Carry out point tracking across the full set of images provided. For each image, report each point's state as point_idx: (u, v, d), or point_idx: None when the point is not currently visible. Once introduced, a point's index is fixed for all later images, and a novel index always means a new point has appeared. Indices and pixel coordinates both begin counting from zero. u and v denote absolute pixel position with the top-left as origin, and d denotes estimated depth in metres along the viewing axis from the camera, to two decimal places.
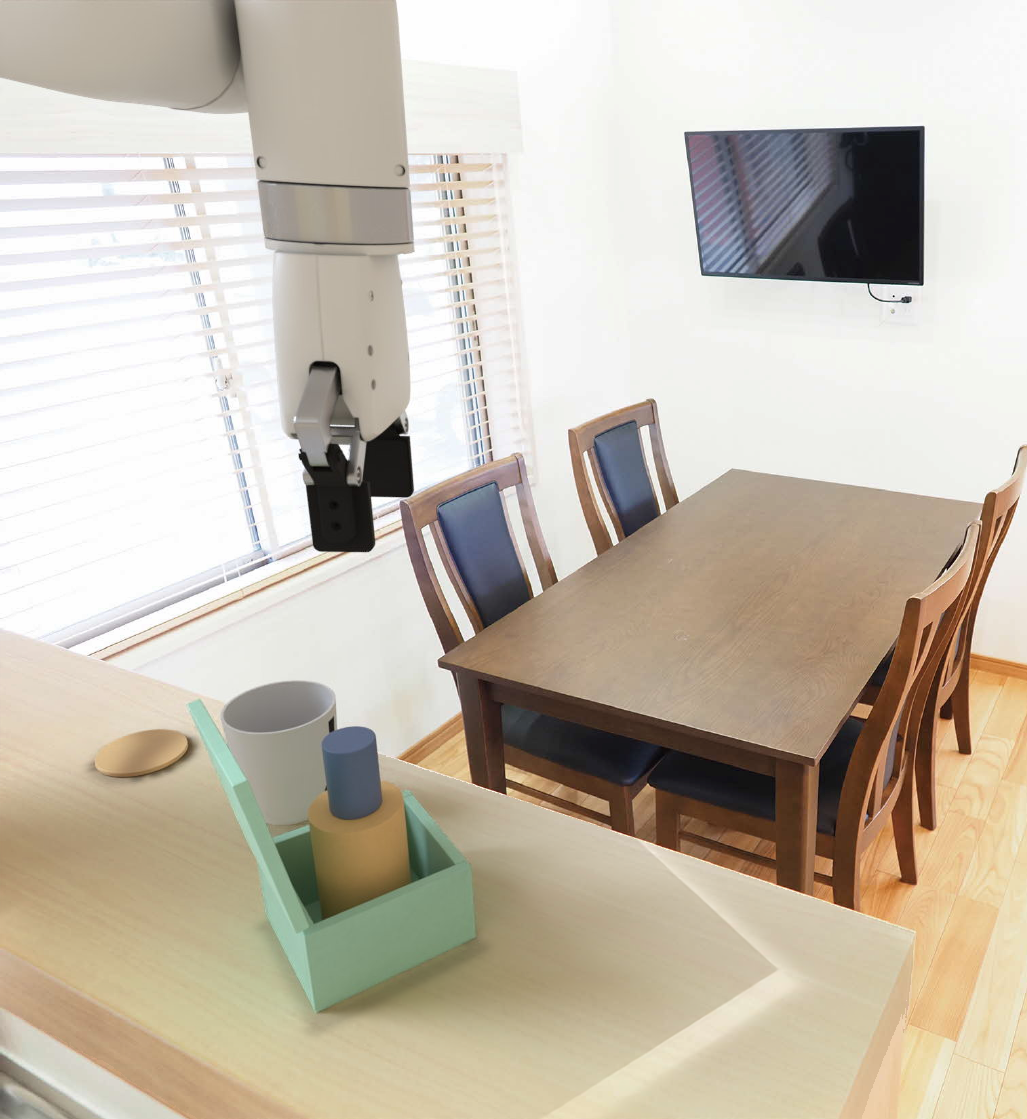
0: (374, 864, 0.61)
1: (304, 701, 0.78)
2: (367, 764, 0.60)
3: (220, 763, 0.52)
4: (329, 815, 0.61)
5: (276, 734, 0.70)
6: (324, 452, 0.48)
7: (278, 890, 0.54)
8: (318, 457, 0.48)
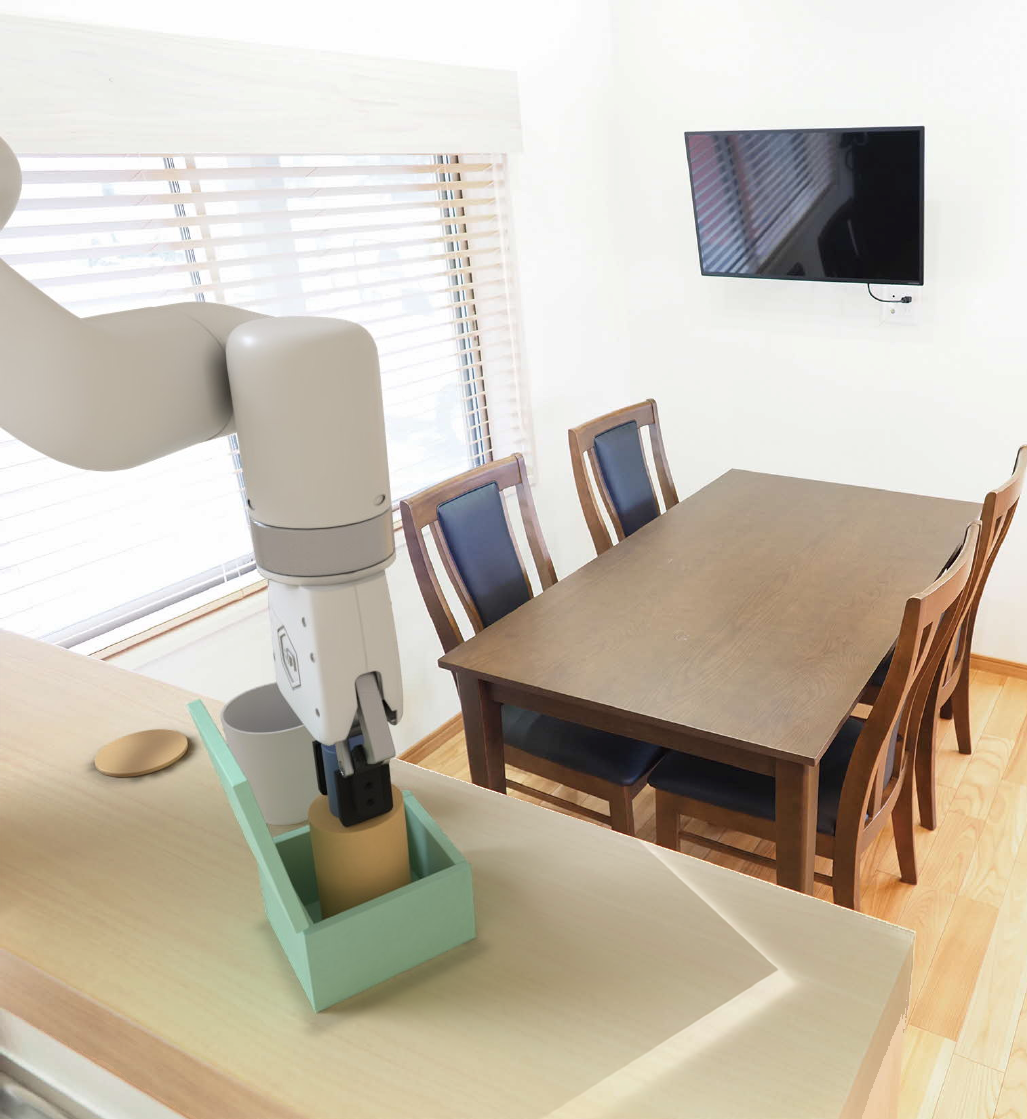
0: (374, 864, 0.61)
1: None
2: None
3: (220, 763, 0.52)
4: (329, 814, 0.61)
5: (276, 734, 0.70)
6: None
7: (278, 890, 0.54)
8: None
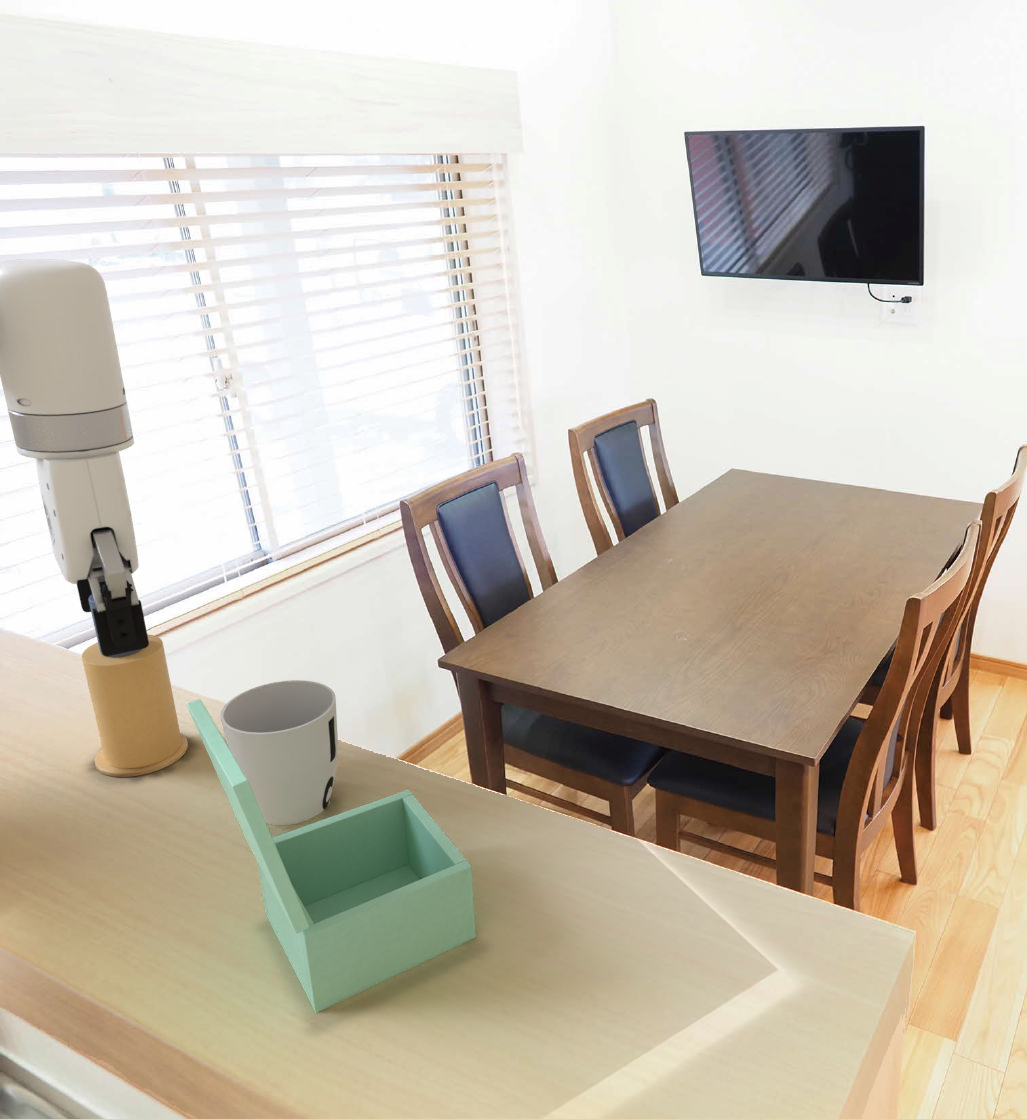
0: (133, 692, 0.79)
1: (304, 701, 0.78)
2: None
3: (220, 763, 0.52)
4: (98, 654, 0.79)
5: (276, 734, 0.70)
6: (125, 588, 0.72)
7: (278, 890, 0.54)
8: (119, 592, 0.72)
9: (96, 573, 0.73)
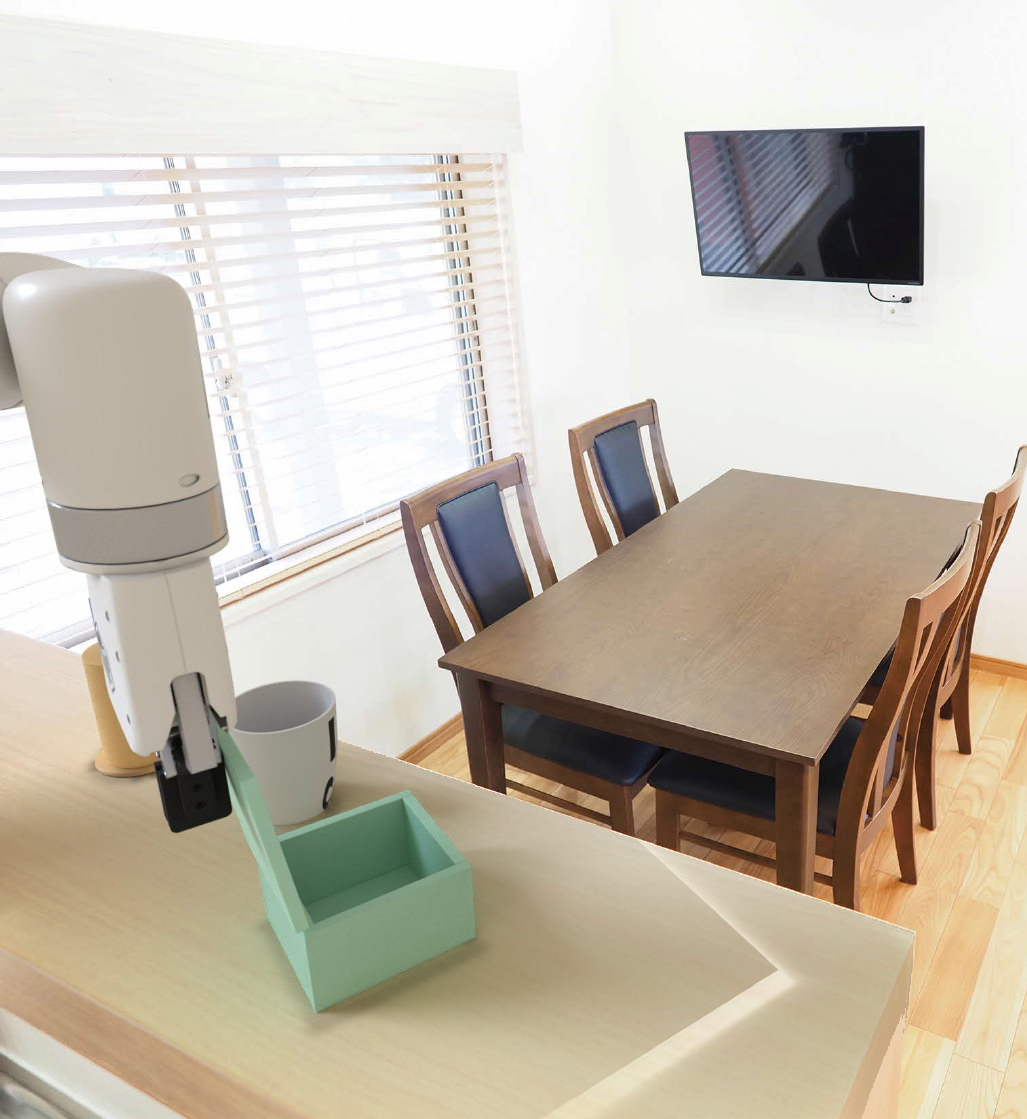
0: None
1: (304, 701, 0.78)
2: None
3: (228, 759, 0.53)
4: (98, 654, 0.79)
5: (276, 734, 0.70)
6: None
7: (280, 889, 0.54)
8: None
9: (171, 738, 0.51)
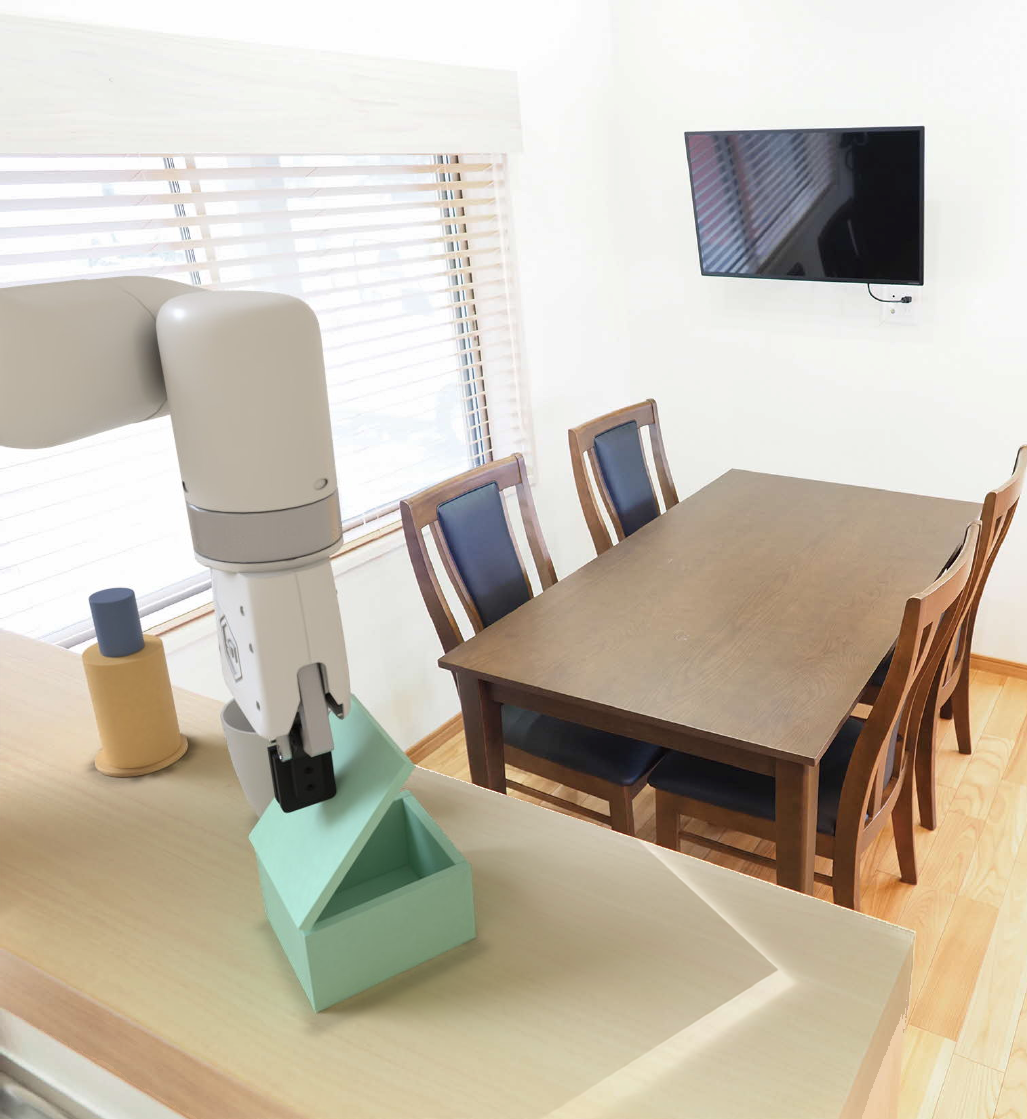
0: (133, 692, 0.79)
1: None
2: (124, 614, 0.78)
3: (389, 743, 0.59)
4: (98, 654, 0.79)
5: None
6: None
7: (332, 876, 0.56)
8: None
9: None
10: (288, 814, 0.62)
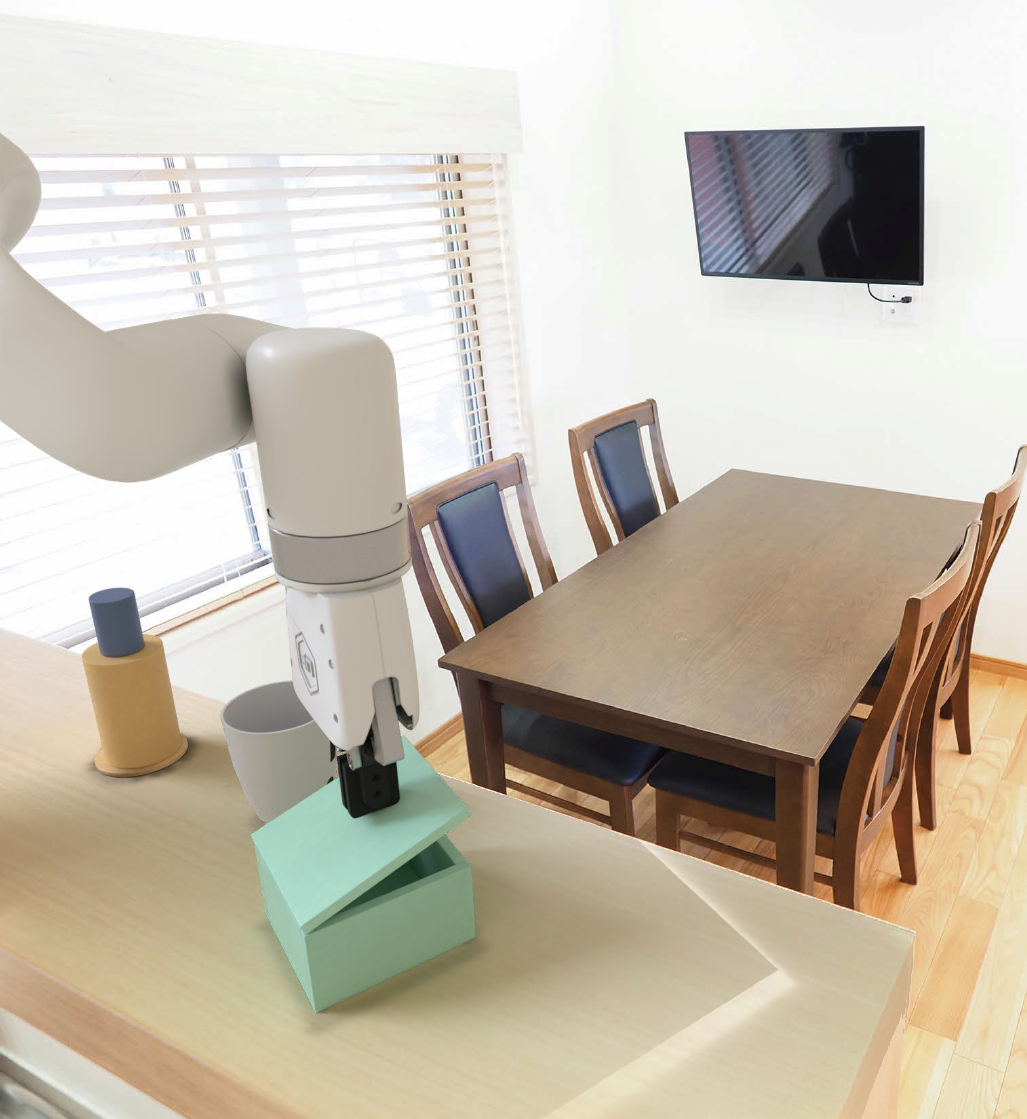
0: (133, 692, 0.79)
1: None
2: (124, 614, 0.78)
3: (449, 787, 0.63)
4: (98, 654, 0.79)
5: (276, 734, 0.70)
6: None
7: (356, 887, 0.58)
8: None
9: None
10: (309, 824, 0.63)
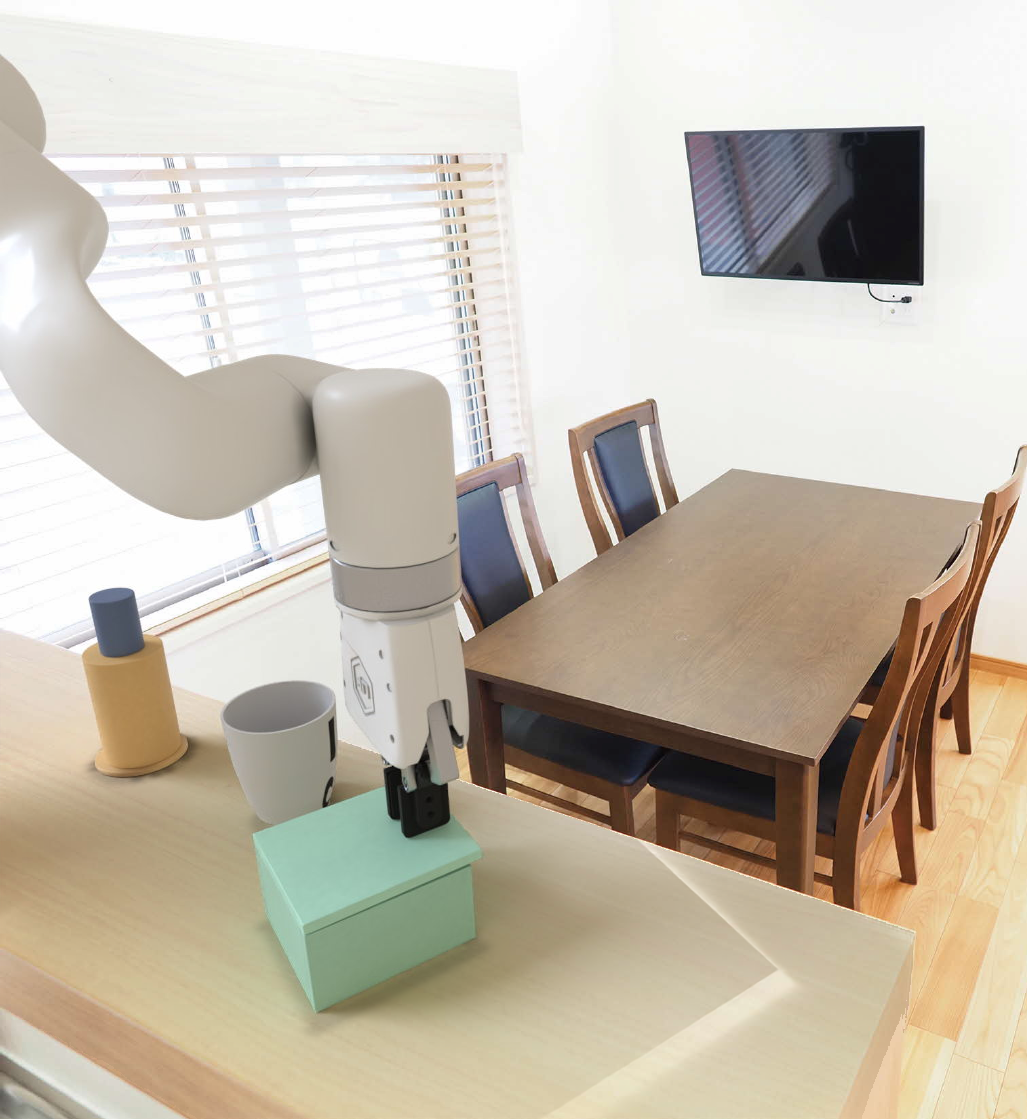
0: (133, 692, 0.79)
1: (304, 701, 0.78)
2: (124, 614, 0.78)
3: None
4: (98, 654, 0.79)
5: (276, 734, 0.70)
6: None
7: (364, 899, 0.58)
8: None
9: None
10: (316, 835, 0.63)
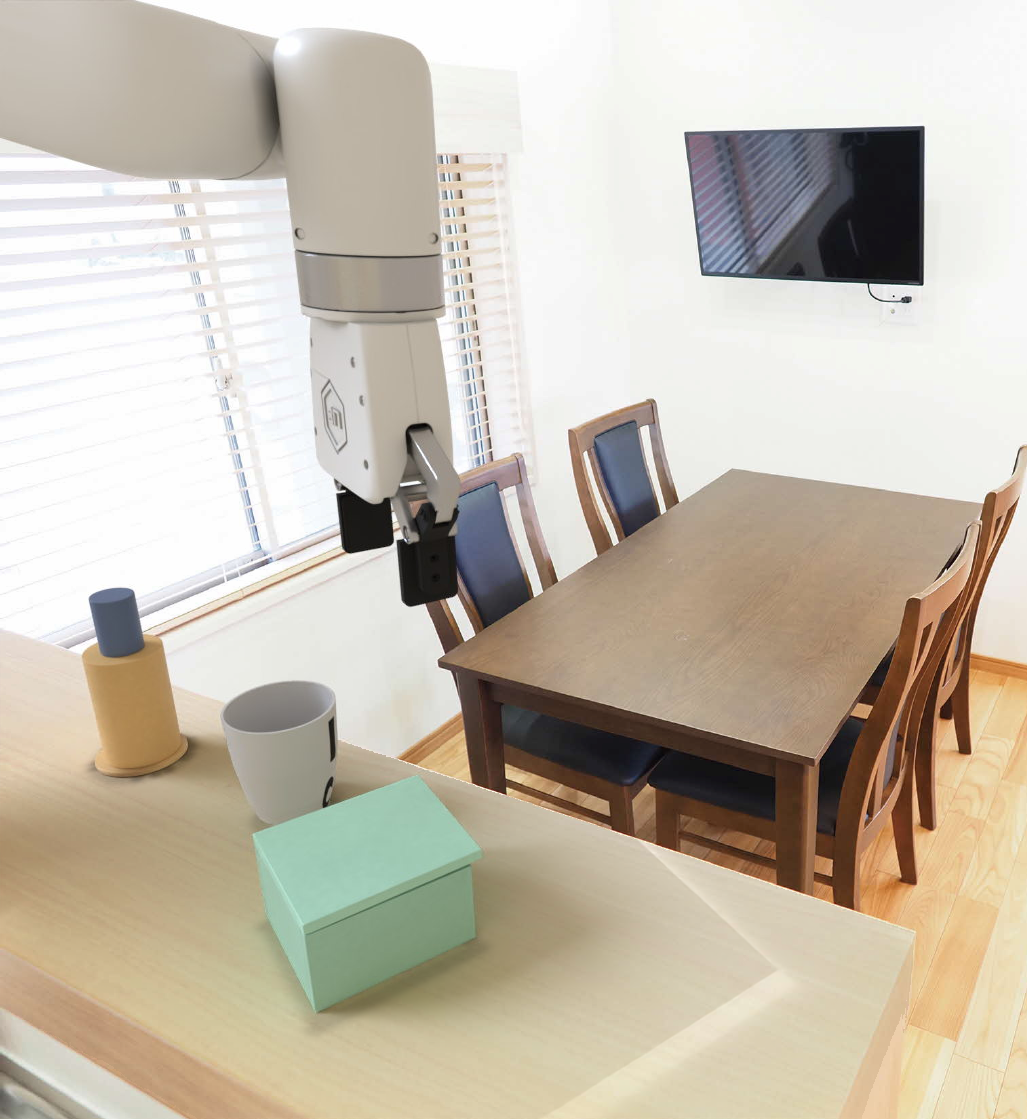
0: (133, 692, 0.79)
1: (304, 701, 0.78)
2: (124, 614, 0.78)
3: None
4: (98, 654, 0.79)
5: (276, 734, 0.70)
6: (453, 507, 0.51)
7: (364, 900, 0.58)
8: (446, 513, 0.51)
9: (404, 489, 0.52)
10: (316, 835, 0.63)
